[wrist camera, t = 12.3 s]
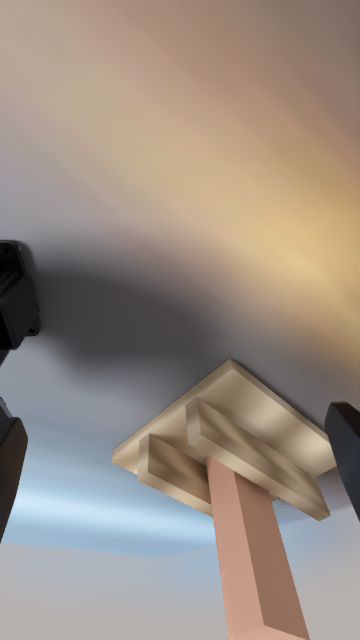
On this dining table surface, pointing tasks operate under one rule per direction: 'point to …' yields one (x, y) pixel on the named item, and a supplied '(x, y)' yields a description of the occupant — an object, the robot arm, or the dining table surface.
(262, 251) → the dining table surface
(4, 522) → the robot arm
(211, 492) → the pink rectangular block
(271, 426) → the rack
